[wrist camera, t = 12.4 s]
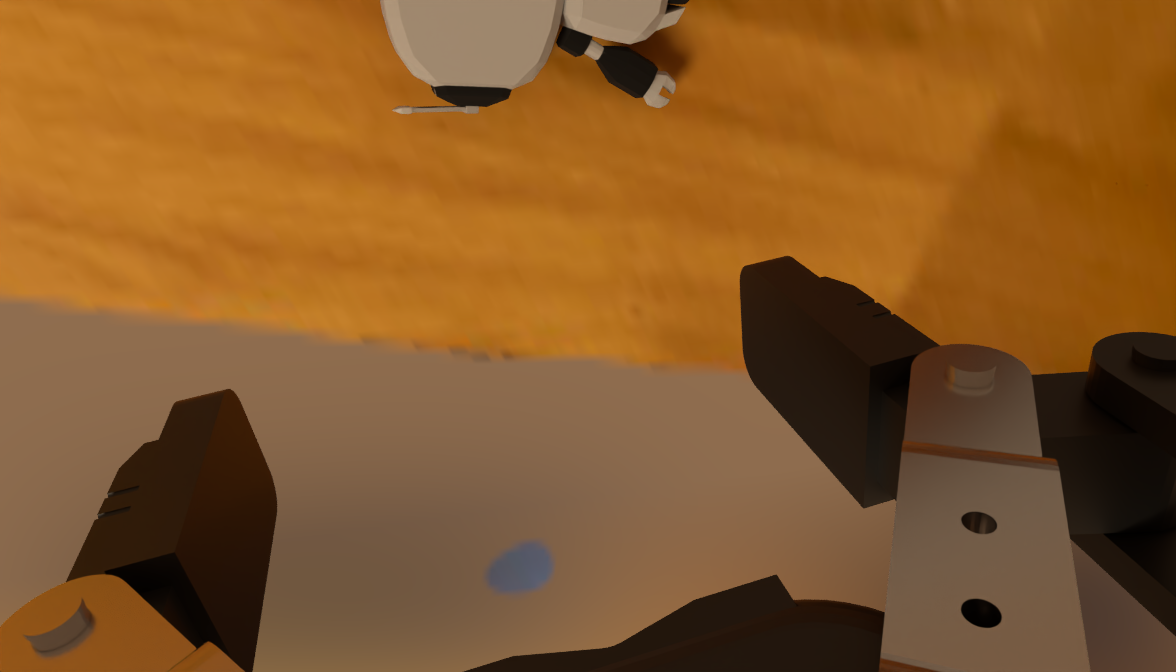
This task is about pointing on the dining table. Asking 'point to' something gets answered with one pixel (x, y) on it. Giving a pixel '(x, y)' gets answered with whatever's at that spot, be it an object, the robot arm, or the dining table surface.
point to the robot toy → (522, 44)
